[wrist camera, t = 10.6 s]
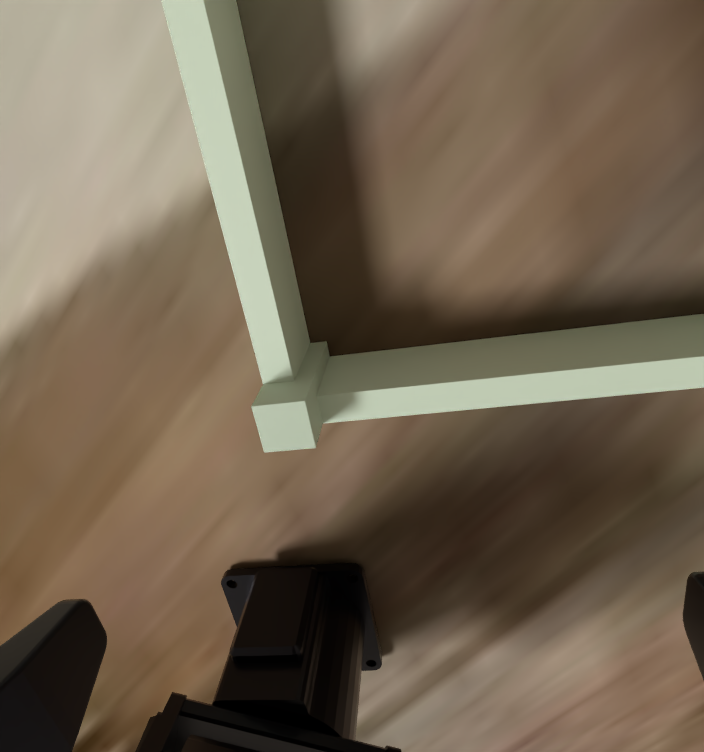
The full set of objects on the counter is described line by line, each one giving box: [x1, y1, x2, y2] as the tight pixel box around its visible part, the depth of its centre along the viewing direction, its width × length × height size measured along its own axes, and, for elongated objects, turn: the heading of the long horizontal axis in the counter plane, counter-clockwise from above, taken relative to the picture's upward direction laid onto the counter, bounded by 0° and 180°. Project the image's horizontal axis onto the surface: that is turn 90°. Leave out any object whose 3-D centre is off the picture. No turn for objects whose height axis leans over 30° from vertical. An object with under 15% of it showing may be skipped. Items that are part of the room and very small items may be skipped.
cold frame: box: [161, 0, 704, 452], centre depth 13 cm, size 18×16×4 cm
